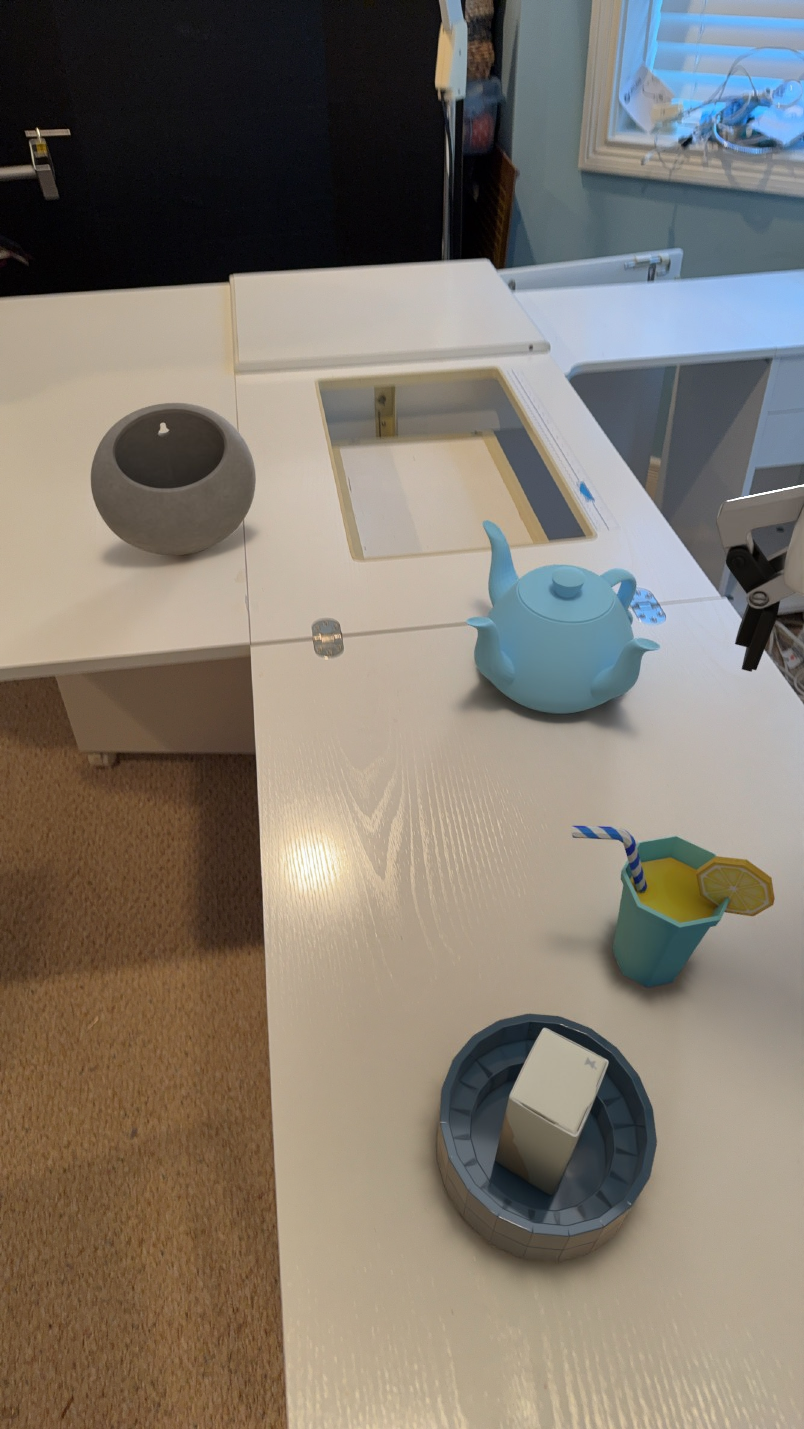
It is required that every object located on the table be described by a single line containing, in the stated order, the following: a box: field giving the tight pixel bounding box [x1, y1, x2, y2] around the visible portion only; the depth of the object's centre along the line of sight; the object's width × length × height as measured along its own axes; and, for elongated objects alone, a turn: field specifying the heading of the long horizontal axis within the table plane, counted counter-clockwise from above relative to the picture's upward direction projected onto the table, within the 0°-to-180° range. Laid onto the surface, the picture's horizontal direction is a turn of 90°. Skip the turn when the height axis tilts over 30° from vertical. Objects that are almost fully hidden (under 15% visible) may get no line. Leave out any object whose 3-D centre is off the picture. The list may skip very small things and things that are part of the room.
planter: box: [90, 402, 257, 556], centre depth 100 cm, size 18×7×19 cm, turn 110°
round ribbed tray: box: [436, 1013, 658, 1263], centre depth 56 cm, size 13×13×6 cm
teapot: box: [465, 519, 661, 715], centre depth 88 cm, size 17×19×12 cm
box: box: [495, 1028, 609, 1195], centre depth 54 cm, size 5×4×11 cm
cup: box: [571, 825, 776, 988], centre depth 63 cm, size 14×8×15 cm, turn 79°
